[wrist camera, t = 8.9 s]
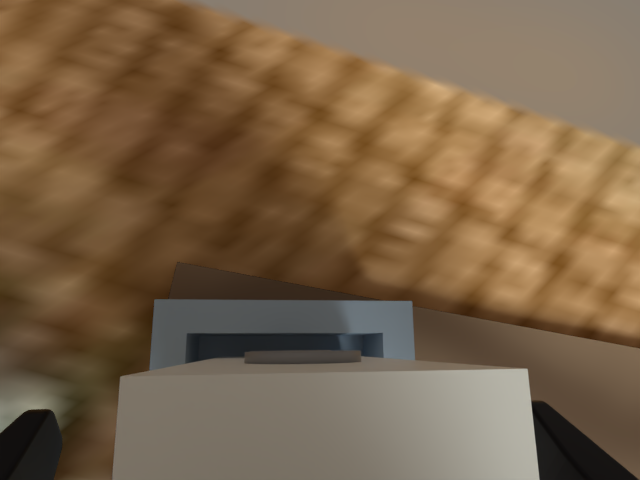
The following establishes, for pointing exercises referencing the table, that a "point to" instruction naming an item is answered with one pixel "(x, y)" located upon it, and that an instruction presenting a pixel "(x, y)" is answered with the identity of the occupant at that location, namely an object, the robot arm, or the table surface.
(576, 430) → the robot arm
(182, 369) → the tower
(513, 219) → the table surface
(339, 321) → the socket cup
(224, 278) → the walnut board
